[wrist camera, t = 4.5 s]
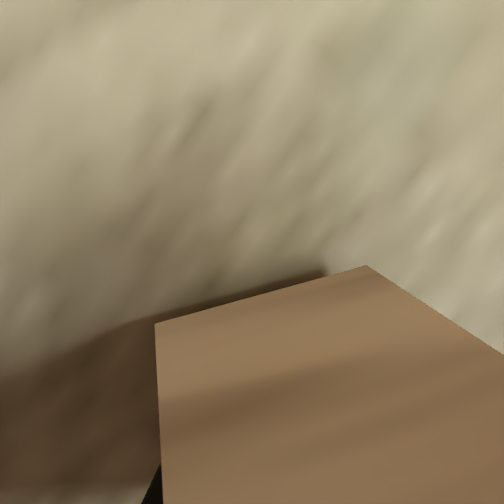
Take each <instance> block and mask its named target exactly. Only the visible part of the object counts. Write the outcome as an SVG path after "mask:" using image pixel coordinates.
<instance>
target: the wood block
mask: <svg viewBox="0 0 504 504" xmlns="http://www.w3.org/2000/svg"><path fill="white" fill-rule="evenodd" d="M155 345H156V365H157V385H158V405H159V425H160V445H161V465H162V485H163V504H504V355H503V354H501V353H500V352H498V351H497V350H495V349H494V348H492V347H490V346H489V345H487V344H486V343H484V342H483V341H481V340H480V339H478V338H477V337H475V336H474V335H472V334H471V333H469V332H468V331H466V330H465V329H463V328H461V327H460V326H458V325H457V324H455V323H454V322H452V321H451V320H449V319H448V318H446V317H445V316H443V315H442V314H440V313H439V312H437V311H435V310H434V309H432V308H431V307H429V306H428V305H426V304H425V303H423V302H422V301H420V300H419V299H417V298H416V297H414V296H413V295H411V294H410V293H408V292H406V291H405V290H403V289H402V288H400V287H399V286H397V285H396V284H394V283H393V282H391V281H390V280H388V279H387V278H385V277H384V276H382V275H381V274H379V273H377V272H376V271H374V270H373V269H371V268H370V267H368V266H367V265H366V266H362V267H359V268H355V269H351V270H348V271H344V272H341V273H337V274H333V275H330V276H326V277H322V278H319V279H315V280H312V281H308V282H304V283H301V284H297V285H293V286H290V287H286V288H283V289H279V290H275V291H272V292H268V293H264V294H261V295H257V296H254V297H250V298H246V299H243V300H239V301H235V302H232V303H228V304H225V305H221V306H217V307H214V308H210V309H206V310H203V311H199V312H196V313H192V314H188V315H185V316H181V317H177V318H174V319H170V320H167V321H163V322H159V323H156V324H155Z"/></svg>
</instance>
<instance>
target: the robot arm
mask: <svg viewBox="0 0 504 504" xmlns="http://www.w3.org/2000/svg"><path fill="white" fill-rule="evenodd" d="M141 504H163V485H162V465H161V463H160V465H159V467H158V469H157V471H156V473H155V475H154V478H153V480H152V482H151V484H150V486H149V488H148V490H147V492H146V495H145V497H144V499H143V501H142V503H141Z"/></svg>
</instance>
